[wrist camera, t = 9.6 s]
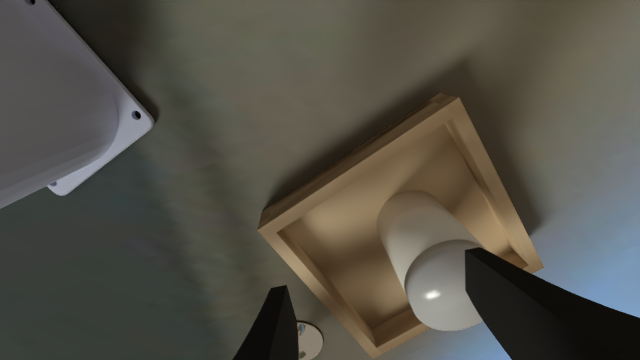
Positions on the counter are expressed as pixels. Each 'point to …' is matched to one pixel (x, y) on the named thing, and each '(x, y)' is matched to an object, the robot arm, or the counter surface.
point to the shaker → (429, 258)
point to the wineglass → (308, 341)
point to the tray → (365, 204)
